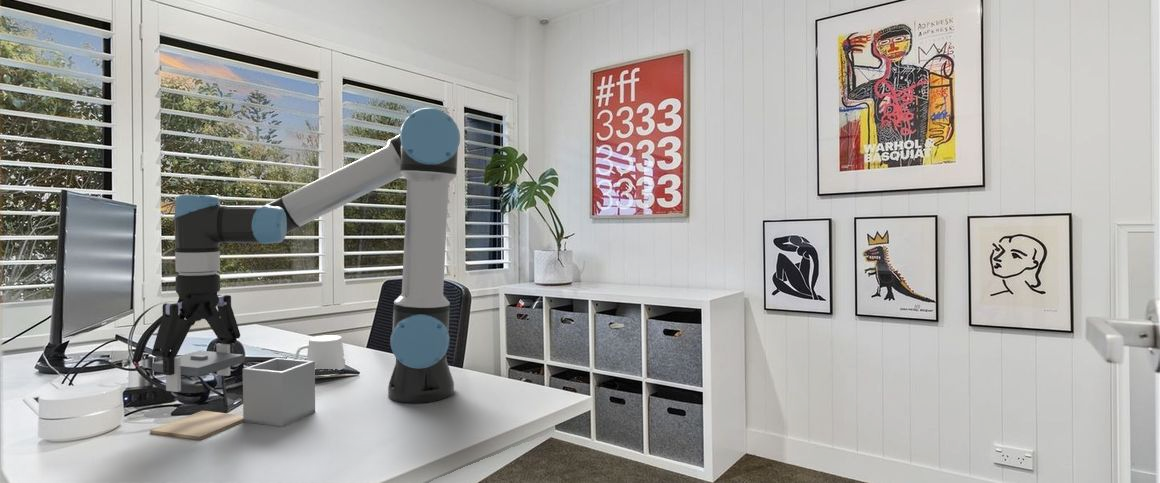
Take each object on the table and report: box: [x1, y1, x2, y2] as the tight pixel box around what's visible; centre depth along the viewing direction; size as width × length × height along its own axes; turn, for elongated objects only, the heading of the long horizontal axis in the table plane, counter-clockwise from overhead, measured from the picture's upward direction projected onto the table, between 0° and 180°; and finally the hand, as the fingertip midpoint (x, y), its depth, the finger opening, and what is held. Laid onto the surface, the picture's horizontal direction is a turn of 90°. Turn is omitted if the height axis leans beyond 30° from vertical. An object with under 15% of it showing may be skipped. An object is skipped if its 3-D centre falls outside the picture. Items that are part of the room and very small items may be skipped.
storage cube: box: [242, 357, 316, 427], centre depth 129 cm, size 10×10×11 cm
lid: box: [151, 350, 245, 378], centre depth 123 cm, size 11×11×3 cm
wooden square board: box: [149, 410, 245, 441], centre depth 124 cm, size 12×12×1 cm
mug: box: [295, 334, 346, 370], centre depth 163 cm, size 12×9×8 cm
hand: (199, 382), depth 123 cm, fingers closed on lid, 11 cm apart
